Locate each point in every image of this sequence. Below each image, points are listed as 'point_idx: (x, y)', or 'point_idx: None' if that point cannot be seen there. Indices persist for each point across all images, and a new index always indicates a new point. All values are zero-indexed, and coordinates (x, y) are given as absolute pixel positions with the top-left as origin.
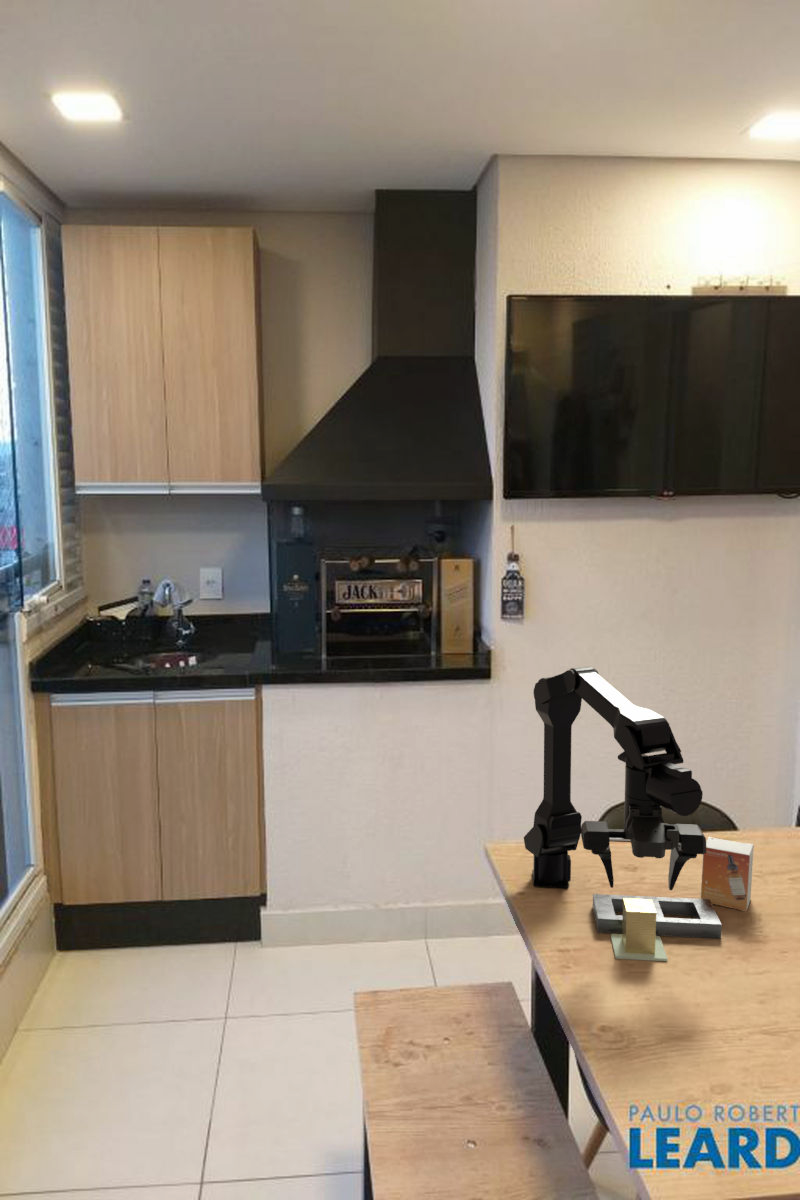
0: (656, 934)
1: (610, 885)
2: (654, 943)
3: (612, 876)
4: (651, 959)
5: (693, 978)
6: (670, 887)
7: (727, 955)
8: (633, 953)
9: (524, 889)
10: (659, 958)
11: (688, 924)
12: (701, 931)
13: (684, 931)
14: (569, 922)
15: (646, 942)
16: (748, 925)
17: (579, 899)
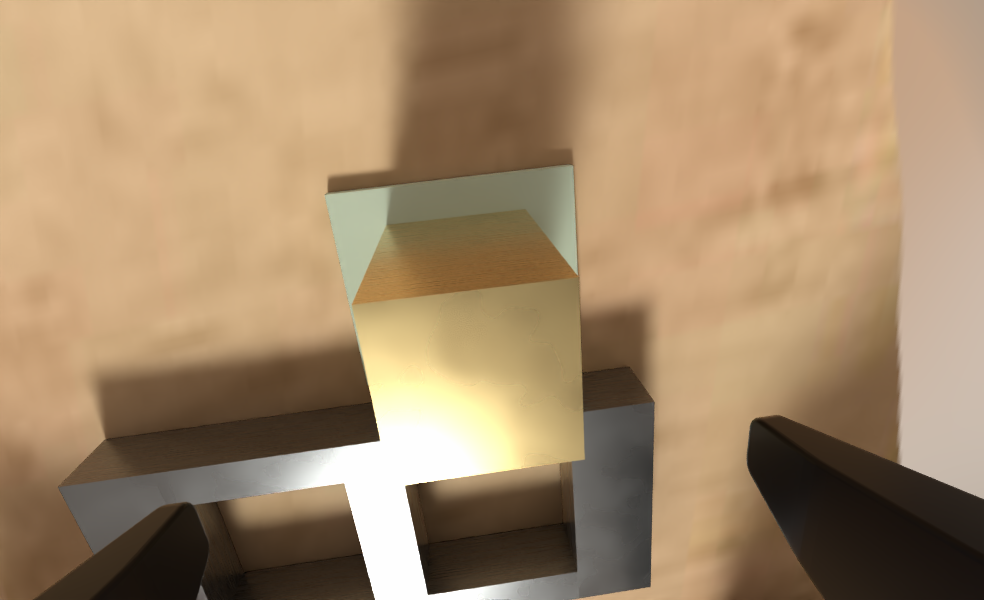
0: None
1: (797, 423)
2: (384, 238)
3: (875, 486)
4: (402, 184)
5: (183, 47)
6: (165, 521)
7: (51, 311)
8: (487, 211)
9: None
10: (363, 189)
11: (226, 458)
12: (177, 446)
13: (256, 432)
14: (732, 417)
15: (426, 235)
16: (10, 562)
17: (671, 575)
